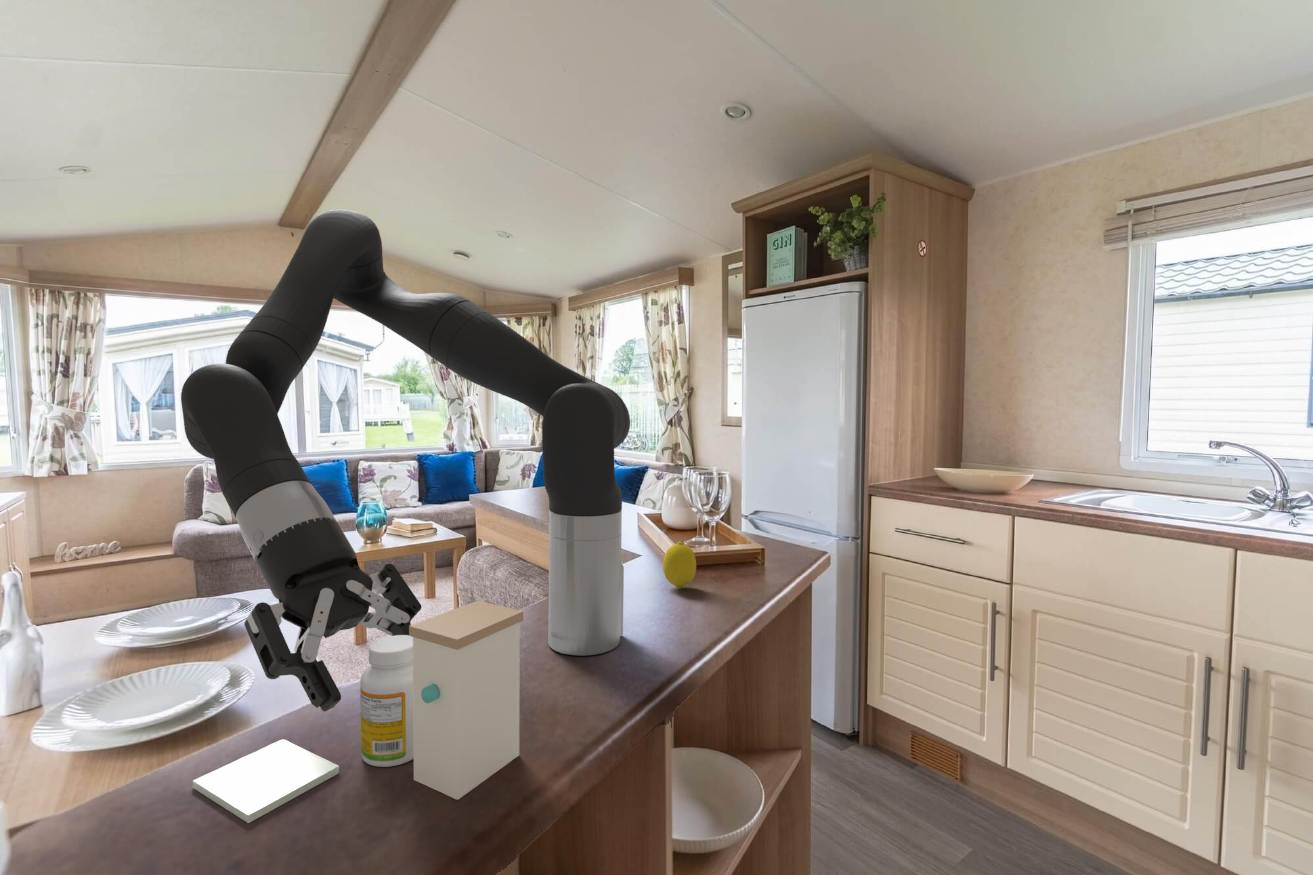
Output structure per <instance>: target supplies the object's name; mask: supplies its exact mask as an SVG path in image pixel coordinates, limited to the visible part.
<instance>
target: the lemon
mask: <svg viewBox="0 0 1313 875" xmlns="http://www.w3.org/2000/svg"><path fill="white" fill-rule="evenodd" d="M696 560H697V559H696V555H695V553H694V551H693V549H692V548H691V547H690V546H689V545H687V544H684V542H683V541H677V543H675V544H672V545H671V546H670V547H669V548H668V549H667V550H666V551H665V553H664V557H663V563H662V568H663V574H664V576H665V579H666V580H667V581H668V582H669V583H670V584H672V585H674V586H675V587H676V589H679V590H680V589H682V588H683V587H684V586H687V585H688V584H690V582H692V580H693V579H694V578H695V575H696V572H697V561H696Z"/></svg>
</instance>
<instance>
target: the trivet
mask: <svg viewBox="0 0 1313 875" xmlns="http://www.w3.org/2000/svg"><path fill="white" fill-rule="evenodd" d="M338 774H340V765H338V764H336V763H333V762H331V761H330V760H328V759H326V758H323V757H321V756H319V755H317V754H315V753H313V752H312V751H309V750H307V749H305V748H303V747H301V746H299V745H297V744H294V743H292V741H291V742H290V741H288V740H287V739H284V738H282V739H280V740H278V741H276V742H273V743H271V744H269V745H267V746H265V747H262V748H259V749H258V750H256V751H254V752H251V753H250V754H247V755H245V756H243V757H241V758H238V759H237V760H234V761H231V763H228V764H225V765H223V766H222V767H219V768H217V769H214V770H213V771H211V772H209V773H206V774H204V775H202V776H199V777H197V778H196V779H193V780H192V789H194V790H195V791H197V792H199V793H200V794H202V795H203V796H205V797H207V798H208V799H209V800H211V801H212V802H214V803H216V804H217V805H219V806H221V807H222V808H223V809H225V810H227V811H229V812H230V813H231V814H234V816H236V817H238V818H239V819H241V820H242V821H244V822H246V823H247V824H250V823H251V822H253V821H255V820H257V819H259V818H261V817H262V816H264V815H266V814H268V813H270V812H271V811H273V810H275V809H276V808H278V807H280V806H282V805H284V804H286V803H288V802H289V801H292V800H293V799H295V798H297V797H298V796H300V795H302V794H304V793H305V792H308V791H310V790H311V789H313V788H315V787H317V786H318V785H321V784H323V783H324V782H326V781H327V780H329V779H331V778H333V777H335V776H336V775H338Z"/></svg>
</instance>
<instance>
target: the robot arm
mask: <svg viewBox="0 0 1313 875" xmlns="http://www.w3.org/2000/svg"><path fill="white" fill-rule="evenodd" d="M384 269H385V268H384V258H383V243H382V237H381V233H380V231H379V228H378V226H377V225H376V223H375V222H374V221H373V220H372V219H371V218H369V216H367V215H365V214H363V213H361V212H358V211H355V210H352V209H351V210H350V209H343V208H342V209H338V208H337V209H330V210H326V211H323V212H321V213H320V214H318V215H316V216H315V217H313V219H311V220H310V222H309V223H308V225H307V227H306V228H305V231H304V232H303V234H302V237H301V239H300V241H299V244H298V246H297V248H296V250H295V252H294V253H293V255H292V257H291V259H290V261H289V263H288V265H287V267H286V269H285V271H284V273H282V276H281V278H280V279H279V282H278V283H277V285H276V286H275V288H274V289H273V290H272V292H271V294H270V295H269V297H268V299H267V300H266V301H265V303H264V304H263V305H262V307H261V308H260V309H259V310H258V312H257V313H255V315H254V316H253V317H252V319H250V321H249V322H248V323H247V324H246V326H245V327H244V328H243V329H242V330H241V331H240V333H239V334H238V336H236V337H235V339H234V340H233V342H232V343H231V344H230V346H229V348H228V350H227V354H226V358H225V363H210V364H207V365H205V366H202V367H200V368H197V369H196V370H194V371H193V372H192V373H190V375H188V376H187V378H186V380H185V381H184V383H183V385H182V387H181V392H180V404H181V411H182V417H183V427H184V432H185V437H186V439H187V441H188V443H189V444H190V446H191V448H193V450H194V451H196V453H198V454H200V455H201V456H203V457H205V458H208V459H211V460H213V462H214V466H215V474H216V479H217V482H218V486H219V488H220V491H221V493H222V495H223V496H224V499H225V501H226V502H227V505H228V506H229V508H230V510H231V512H232V513H233V515H234V517H235V519H236V521H237V523H238V526H239V529H240V532H241V536H242V538H243V540H244V542H245V544H246V547H247V548H248V550H249V552H250V554H251V556H252V558H253V561H254V562H255V564H256V565H257V568H258V569H259V570H260V571H259V572H260V573H261V575H262V576H263V579H264V580H265V582H266V584H267V586H268V588H269V590H270V592H271V594H272V595H273V597H274V599H276V600H278V603H274V604H269V603H267V602H258V603H257V604H255V606H254V607H253V608H252V609H251V611H250V613H249V614H248V616H247V618H246V619H245V621H244V627H245V630H246V632H247V635H248V637H249V639H250V641H251V644H252V647H253V649H254V651H255V654H256V656H257V658H258V660H259V663H260V666H261V668H262V670H263V672H264V674H265V676H266V678H267V679H269V680H276V679H278V678H280V676H294V677H296V679H298V680H299V682H300V684H301V686H302V688H303V690H304V691H305V694H306V696H307V698H308V699H309V701H310V703H311V705H312V706H314V707H315V708H316V709H317V708H320V709H321V711H322V712H328V711H330V710H331V709H333V708H334V707H336V705H338V703H340V701H341V699H342V694H341V691H340V690H339V688H338V686H337V685H336V682H335V680H334V679H333V676H332V675H331V673H330V671H329V669H328V668H327V666H326V663H325V662H324V660H323V659H321V660H319V661H318V660H317V657H318V654H319V649H320V644H321V641H322V639H323V637H324V638H325V639H327V638H330V637H333V636H335V635H336V634H337V633H338V632H340V631H346V630H351V629H353V628H356V627H357V626H358V625H360V626H363V627H365V628H367V629H377V630H378V631H380V632H382V633H385V634H387V635H389V636H395V635H409V626H410V625H412V624H411V621H412V620H413V619H414V618H415V616H417V614H418V613H419V612H420V611H421V610H422V604H421V602H420V601H419V600H418V598H417V597H416V595H415V593H413V591H412V589H411V588H410V587H409V585H408V583H407V582H406V581H405V579H404V578H403V576H402V575H401V574H400V572H399V570H398V569H397V568H396V566H395V565H394V564H392V563H386V564H385V565H384V566H383V568H382V569H381V570H379V571H376V572H374V573H372V574H368V573H366V572H365V571H363V569H361V568H360V566H359V562H358V557H357V553H356V552H355V550H354V548H353V547H352V544H351V543H350V541H349V540H348V538H347V536H346V535H345V533H344V531H343V529H342V528H341V526H340V525H339V522H338V521H337V520H336V518H335V516H334V514H333V512H332V511H331V509H330V507H329V506H328V504H327V503H326V500H324V498H323V497H322V496H321V495H320V493H318V491H317V490H316V488H315V487H314V486H313V484H312V482H311V481H310V479H309V478H308V475H307V473H306V472H305V470H304V469H303V467H302V465H301V464H300V462H299V461H298V459H297V458H296V456H295V455H294V454H293V452H292V450H291V448H290V445H289V443H288V440H287V437H286V434H285V431H284V429H283V425H282V423H281V421H280V418H279V415H278V413H279V411H280V409H281V407H282V405H283V403H284V400H285V397H286V396H287V393H288V390H289V388H290V387H291V385H292V383H293V381H294V380H295V379H296V378H297V377H298V375H299V374H300V373H301V372H302V370H303V368H304V366H305V365H306V364H307V362H308V361H309V359H310V358H311V357H312V355H313V354H314V352H315V351H316V349H317V347H318V345H319V342H320V341H321V338H322V336H323V333H324V329H325V327H326V324H327V320H328V317H329V315H330V311H331V307H332V304H333V300H335V301H337V302H339V303H342V304H343V305H345V306H347V307H349V308H351V309H353V310H354V311H356V312H358V313H360V314H363V315H364V316H366V317H368V318H369V319H372V320H373V321H376V322H378V323H379V324H381V325H383V326H384V327H385V328H388V329H389V330H391V331H392V332H393V333H394V334H397V335H398V336H399V337H401V338H403V339H404V340H406V341H408V342H409V343H411V344H413V345H414V346H416V347H417V348H419V350H421V351H423V352H424V353H425V354H427V355H428V356H429V357H431V358H432V359H434V360H436V361H437V362H438V363H440V364H441V365H443V366H444V367H446V368H447V369H449V370H450V371H452V372H453V373H455V374H456V375H458V376H459V377H461V378H463V379H465V380H467V381H468V382H471V383H473V384H475V385H478V386H480V387H483V388H484V389H487V390H490V391H491V392H495V393H496V394H500V395H501V396H505V397H507V398H509V399H512V400H515V401H517V402H519V403H520V404H522V405H525V406H526V407H528V408H529V409H532V410H533V411H534V412H536V413H537V414H538V415H539V416H540V415H541V417H542V424H541V444H542V445H541V448H542V473H543V474H542V475H543V477H542V478H543V484H544V488H545V491H546V494H547V497H548V514H549V515H548V538H549V539H548V622H547V625H548V627H547V628H548V632H547V633H548V634H547V635H548V636H547V639H548V640H547V641H548V642H547V644H548V646H549V648H550V649H552V650H554V651H555V652H558V653H560V654H563V655H568V656H570V655H571V656H585V657H586V656H595V655H599V654H604V653H607V652H609V651H612V650H614V649H616V648H617V647H618V645H620V643H621V636H623V635H624V585H625V584H624V583H625V582H624V579H625V578H624V577H625V576H624V575H625V571H624V570H625V567H624V565H623V564H622V535H623V534H622V525H623V524H622V523H623V522H622V519H623V518H622V517H623V515H622V514H623V511H622V510H623V493H622V490H621V487H620V486H619V485H618V483H617V479H616V475H615V449H616V448H618V447H619V446H620V445H621V444H623V443H624V441H625V440H626V439H627V437H628V434H629V433H630V429H631V417H630V412H629V409H628V407H627V405H626V403H625V401H624V400H623V398H622V397H621V396H620V395H619V394H618V392H616V391H614V390H613V389H611V388H609V387H607V386H605V385H603V384H601V383H599V382H597V381H595V380H592V379H590V378H588V377H586V376H583V375H582V374H580V373H578V372H576V371H574V370H573V369H571V368H569V367H567V366H565V365H563V364H562V363H559V362H558V361H556V360H555V359H553V358H552V357H550V356H549V355H547V354H546V353H545V352H543V351H542V350H541V349H539V348H538V347H537V346H536V345H535V344H533V343H532V342H530V341H529V340H527V338H525V337H524V336H523V335H521V334H520V333H518V332H517V331H515V330H514V329H512V328H511V327H510V326H508V325H507V324H506V323H504V322H503V321H501V319H499V318H498V317H496V316H494V315H493V314H492V313H490V312H488V311H487V310H485V309H484V308H482V307H481V306H479V305H478V304H476V303H475V302H473V301H471V300H470V299H468V298H466V297H464V296H461V295H459V294H456V293H450V292H428V293H414V292H411V291H409V290H407V289H406V288H404V287H402V286H401V285H399V284H398V283H396V282H395V281H394V280H392V279H391V278H390V277H389V276H388V275H387V274H386V272H385V270H384ZM373 589H375V592H376V593H375V592H374V591H373ZM380 594H381V595H380ZM370 608H372V609H374V611H372V612H369V610H370ZM282 619H283V620H284V621H286V622H288V623H291V624H293V625H294V626H297V627H298V628H299V630H298V634H297V638H296V641H295V645H294V649H293V650H294V652H291V650H290V648H289V645H288V643H287V641H286V639H285V636H284V633H283V632H282V629H281V627H280V625H281V623H282Z"/></svg>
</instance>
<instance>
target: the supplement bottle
mask: <svg viewBox="0 0 1313 875" xmlns="http://www.w3.org/2000/svg"><path fill="white" fill-rule="evenodd" d="M368 663H369V665H370V666H368V667H367V668H365V670H364V671H363V672H362V674H361V677H360V685H359V689H360V690H359V694H360V698H359V700H360V751H361V752H360V753H361V758H362V760H363V762H365V763H366V764H368V765H369V766H373V767H377V768H378V767H379V768H381V767H382V768H386V767H387V768H388V767H395V766H400V765H402V764H403V765H404V764H406V763H408V762H410V761H413V760H414V747H413V637H412V636H409V635H395V636H391V635H389V636H385V637H382V638H379V639H376V640H375V641H373V642H372V643H371V644H369V646H368Z"/></svg>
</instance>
